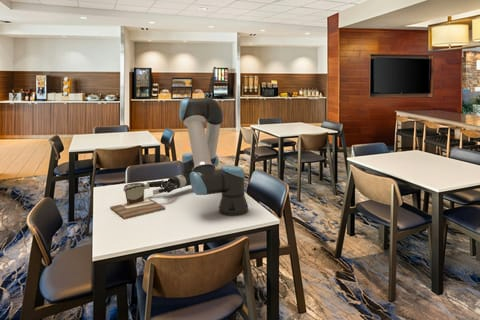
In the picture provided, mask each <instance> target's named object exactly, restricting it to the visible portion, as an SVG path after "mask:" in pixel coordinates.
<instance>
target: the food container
mask: <svg viewBox="0 0 480 320" xmlns="http://www.w3.org/2000/svg"><path fill="white" fill-rule="evenodd" d="M145 184H146V183H144V182H132V183H127V184H125V185H124V186H123V192H124V194H125V200H126V203H127V205H132V204H136V203H139V202H143V201H144V199H145V189H144V187H145Z"/></svg>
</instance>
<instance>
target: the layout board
mask: <svg viewBox="0 0 480 320" xmlns="http://www.w3.org/2000/svg"><path fill="white" fill-rule="evenodd" d="M109 209H110V210H111V211H113V212H114V213H115V214H117V215H118V216H119V217H120V218H122V219H123V220H127V219H131V218H136V217H140V216H144V215H148V214H151V213H152V214H153V213H155V212H159V211H160V212H161V211H164V210H166V206H164V205H162V204H160V203H158V202H157V201H155V200H153V199H151V198H144V201H143V202H139V203H136V204H132V205H127V202H126V203H121V204H118V205H112V206H110V207H109Z"/></svg>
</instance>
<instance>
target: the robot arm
mask: <svg viewBox="0 0 480 320" xmlns="http://www.w3.org/2000/svg"><path fill="white" fill-rule="evenodd" d="M178 116H179V117H178V118H179V121H180V122H183V125H184V126H185V127H187V131H188V137H189V138H188V139H189V143H190V144H189V145H190V149H191V153H190V152H188V153H183V154H182V155H181V162H182V164H181V166H182V174H178V175H175V176H171V177H168V179H167V180H157V181H147V182H146V183H144V184H145V187H144V190H149V189H150V188H155V189H152V195H153V196H156V195H159V194H163V193H168V194H169V193H171V192H172V191H174V190H178V189H182V188H185V187H187V186H188V187H189V186H191V190H192V191H193V193H194V194H195V195H196V196H207V195H214V194H216V195H217V194H221V198H220V202H219V205H218V212H219V214H221V215H224V216H241V215H244V214H247V213H248V212H249V205H248V203H247V202H248V201H247V199H246V196H245V178H246V177H245V170H244V169H243V168H242V167H241V166H237V165H231V164H230V165H227V164H226V165H225V164H224V165H221V166H220V169H216V167H218V165H219V161H220V160H219V156H218V154H217V149H218V143H219V142H218V141H219V138H220V137H219V136H220V130H221V124H223V122H224V112H223V108H222V106H221V105H220V103H219V102H218V101H216V99H214V98H212V97H196V98H193V97H192V98H190V97H189V98H182V99H181V100H180V103H179V115H178ZM205 122H206V130H205V126H204V124H205Z"/></svg>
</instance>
